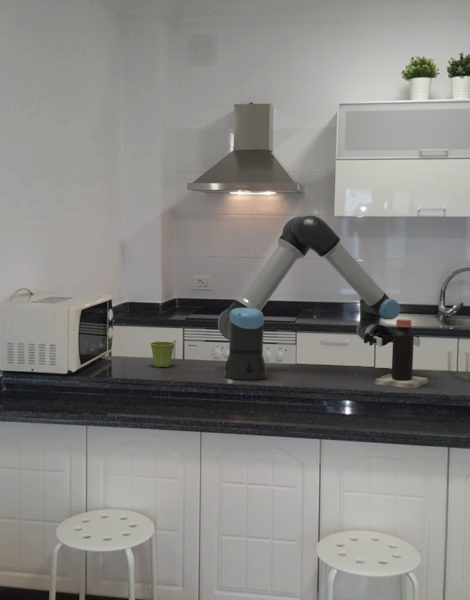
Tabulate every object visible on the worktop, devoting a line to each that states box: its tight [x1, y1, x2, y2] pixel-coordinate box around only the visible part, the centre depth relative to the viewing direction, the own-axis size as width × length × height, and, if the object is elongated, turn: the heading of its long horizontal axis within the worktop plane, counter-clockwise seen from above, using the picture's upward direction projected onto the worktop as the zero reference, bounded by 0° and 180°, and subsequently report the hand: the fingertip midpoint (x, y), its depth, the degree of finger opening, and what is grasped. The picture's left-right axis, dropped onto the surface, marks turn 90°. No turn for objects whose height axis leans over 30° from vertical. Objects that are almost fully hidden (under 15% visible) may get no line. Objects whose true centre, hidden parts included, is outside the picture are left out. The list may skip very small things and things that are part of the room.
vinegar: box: [391, 318, 414, 381], centre depth 239 cm, size 7×7×20 cm
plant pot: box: [149, 341, 176, 368], centre depth 265 cm, size 9×9×9 cm
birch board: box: [374, 373, 429, 390], centre depth 240 cm, size 14×14×2 cm
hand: (400, 342), depth 242 cm, fingers open, 13 cm apart
